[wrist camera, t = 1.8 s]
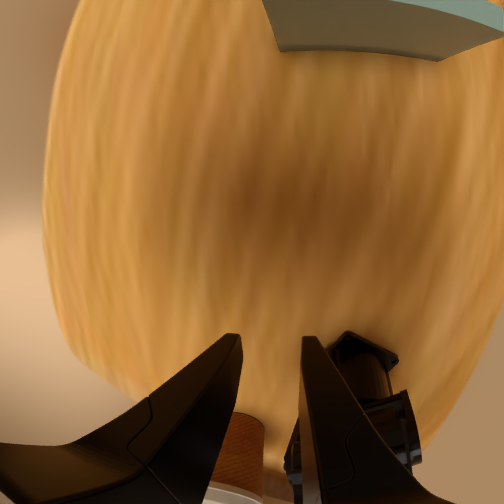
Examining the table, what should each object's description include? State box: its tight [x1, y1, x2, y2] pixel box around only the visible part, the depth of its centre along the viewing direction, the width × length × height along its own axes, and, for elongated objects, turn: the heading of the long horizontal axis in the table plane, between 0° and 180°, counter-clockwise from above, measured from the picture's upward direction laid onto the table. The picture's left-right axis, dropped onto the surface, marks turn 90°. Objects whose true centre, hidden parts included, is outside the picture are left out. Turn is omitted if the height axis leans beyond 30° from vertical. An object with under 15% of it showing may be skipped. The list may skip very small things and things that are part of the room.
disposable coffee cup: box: [202, 412, 264, 504], centre depth 26 cm, size 10×10×12 cm
